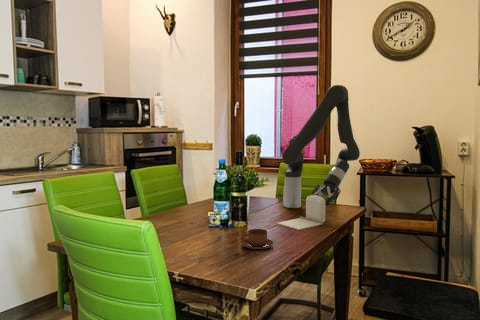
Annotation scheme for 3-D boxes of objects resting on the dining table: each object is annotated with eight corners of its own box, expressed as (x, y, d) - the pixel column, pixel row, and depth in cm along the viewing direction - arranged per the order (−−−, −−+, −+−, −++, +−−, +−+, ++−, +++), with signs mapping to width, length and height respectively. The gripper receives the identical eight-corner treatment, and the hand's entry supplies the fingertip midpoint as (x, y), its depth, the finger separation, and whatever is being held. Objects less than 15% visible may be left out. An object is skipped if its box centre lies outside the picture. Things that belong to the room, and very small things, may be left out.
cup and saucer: (251, 254, 147) (251, 237, 146) (236, 245, 157) (236, 229, 157) (279, 249, 152) (279, 233, 152) (263, 241, 163) (263, 226, 162)
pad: (277, 223, 190) (277, 221, 190) (300, 218, 200) (300, 216, 199) (298, 230, 179) (298, 227, 179) (322, 224, 189) (322, 221, 188)
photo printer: (304, 219, 198) (304, 194, 197) (310, 218, 201) (310, 193, 200) (320, 223, 190) (321, 197, 189) (326, 222, 193) (327, 196, 192)
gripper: (320, 172, 206) (304, 196, 200) (343, 174, 195) (327, 201, 189) (326, 181, 210) (311, 205, 204) (349, 184, 199) (334, 210, 193)
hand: (319, 203), depth 197 cm, fingers open, 8 cm apart
